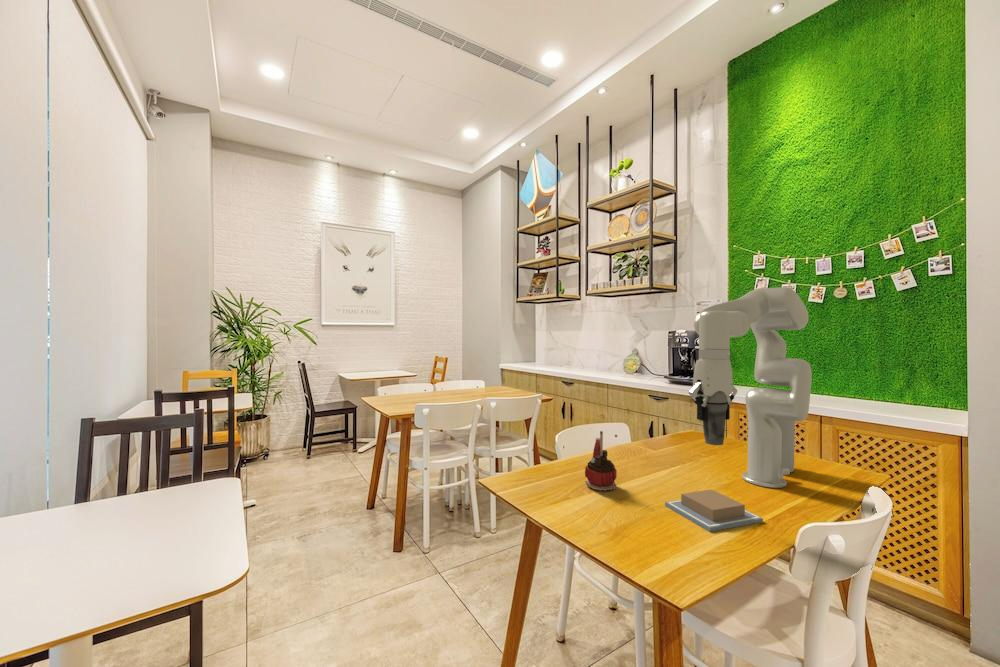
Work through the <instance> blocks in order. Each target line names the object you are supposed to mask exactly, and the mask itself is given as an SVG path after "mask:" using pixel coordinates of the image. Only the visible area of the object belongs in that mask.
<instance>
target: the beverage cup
mask: <svg viewBox="0 0 1000 667" xmlns="http://www.w3.org/2000/svg"><path fill="white" fill-rule="evenodd" d="M702 394H703V395H704V393H702ZM703 398H704V397H702V398H701V400H702V401H703ZM727 406H728V400H727V396H726V394H725V393H724V392H722V391H718V392H716V393H714V394H713V396H711V397H709V398H708V402H707V404H706V407H708V421H702V427H703V436H704V443H705V444H707V445H712V446H723V445H724V442H725V441H724V440H725V432H726V431H725V430H726V410H727Z"/></svg>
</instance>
